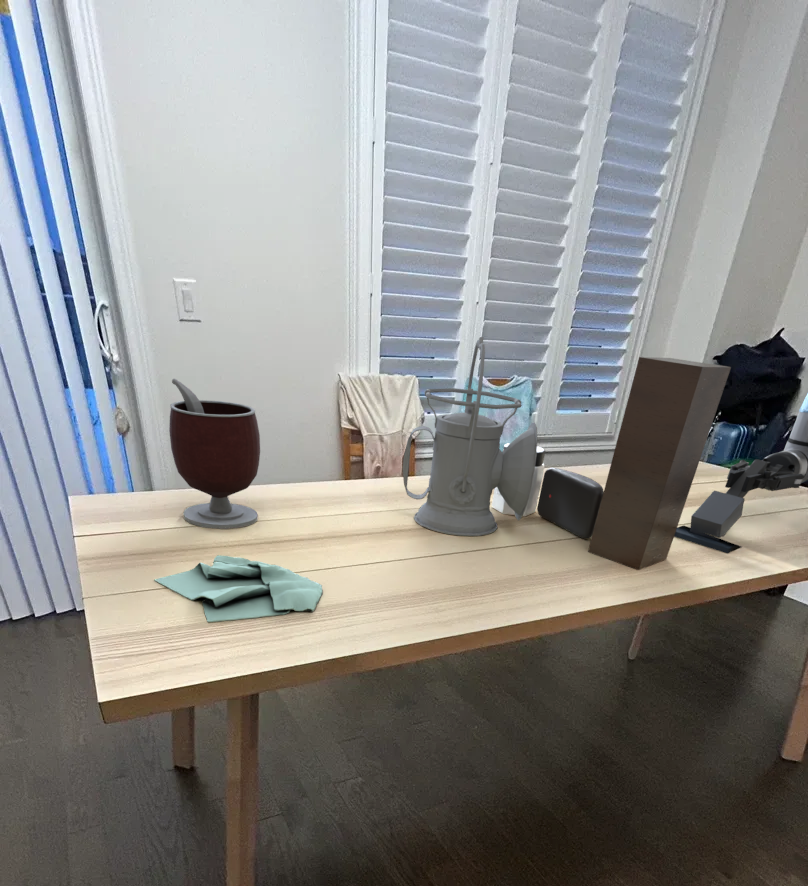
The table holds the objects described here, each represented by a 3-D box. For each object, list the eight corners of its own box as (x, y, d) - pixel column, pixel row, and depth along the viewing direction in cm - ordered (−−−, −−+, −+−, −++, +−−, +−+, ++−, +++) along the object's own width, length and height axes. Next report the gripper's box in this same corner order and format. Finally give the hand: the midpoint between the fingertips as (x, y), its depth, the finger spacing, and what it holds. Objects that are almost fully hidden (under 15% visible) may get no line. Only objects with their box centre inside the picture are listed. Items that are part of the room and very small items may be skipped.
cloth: (335, 616, 80) (335, 599, 79) (151, 625, 74) (148, 605, 73) (308, 558, 96) (308, 543, 95) (155, 561, 90) (153, 544, 89)
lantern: (522, 547, 110) (562, 349, 93) (396, 534, 109) (414, 332, 93) (508, 511, 128) (539, 339, 111) (399, 500, 127) (415, 326, 110)
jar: (485, 504, 131) (494, 442, 124) (518, 503, 134) (530, 442, 127) (506, 517, 124) (518, 453, 117) (541, 516, 127) (555, 453, 120)
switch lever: (744, 470, 129) (747, 453, 126) (774, 477, 126) (777, 460, 123) (689, 532, 124) (691, 515, 121) (719, 541, 121) (721, 524, 118)
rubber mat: (702, 522, 134) (704, 518, 134) (759, 539, 128) (761, 534, 127) (668, 534, 125) (669, 529, 124) (727, 553, 118) (729, 548, 117)
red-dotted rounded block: (604, 540, 118) (618, 488, 112) (585, 542, 116) (598, 489, 111) (551, 513, 129) (562, 465, 124) (533, 514, 128) (543, 465, 122)
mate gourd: (279, 518, 111) (276, 391, 100) (220, 536, 101) (210, 396, 90) (215, 498, 117) (206, 376, 106) (154, 513, 107) (136, 380, 96)
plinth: (616, 542, 117) (669, 357, 101) (666, 559, 112) (731, 367, 95) (587, 551, 111) (638, 356, 95) (638, 570, 106) (702, 366, 89)
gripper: (811, 497, 133) (770, 513, 119) (738, 479, 142) (692, 491, 128) (827, 460, 129) (787, 471, 115) (752, 443, 138) (705, 452, 124)
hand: (737, 482), depth 121 cm, fingers closed on switch lever, 2 cm apart
